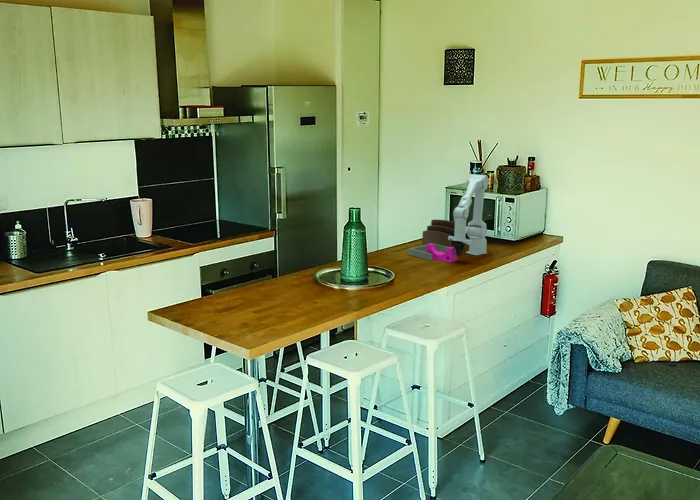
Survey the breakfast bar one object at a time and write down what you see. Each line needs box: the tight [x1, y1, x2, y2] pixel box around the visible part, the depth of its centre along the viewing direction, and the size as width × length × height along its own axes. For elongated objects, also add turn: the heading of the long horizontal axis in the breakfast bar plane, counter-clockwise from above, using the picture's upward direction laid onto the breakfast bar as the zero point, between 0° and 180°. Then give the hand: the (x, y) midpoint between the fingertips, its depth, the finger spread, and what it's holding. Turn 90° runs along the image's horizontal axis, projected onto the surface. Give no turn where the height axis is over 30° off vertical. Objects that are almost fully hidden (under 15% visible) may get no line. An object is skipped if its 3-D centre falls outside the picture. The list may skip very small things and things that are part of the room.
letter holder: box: [421, 219, 455, 247], centre depth 396 cm, size 10×20×14 cm, turn 50°
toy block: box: [426, 243, 458, 263], centre depth 362 cm, size 15×6×8 cm, turn 51°
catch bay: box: [408, 244, 456, 262], centre depth 371 cm, size 20×17×4 cm
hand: (458, 255), depth 357 cm, fingers closed
